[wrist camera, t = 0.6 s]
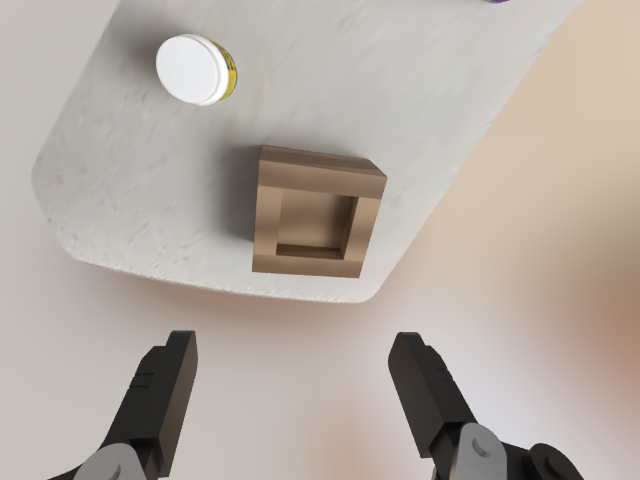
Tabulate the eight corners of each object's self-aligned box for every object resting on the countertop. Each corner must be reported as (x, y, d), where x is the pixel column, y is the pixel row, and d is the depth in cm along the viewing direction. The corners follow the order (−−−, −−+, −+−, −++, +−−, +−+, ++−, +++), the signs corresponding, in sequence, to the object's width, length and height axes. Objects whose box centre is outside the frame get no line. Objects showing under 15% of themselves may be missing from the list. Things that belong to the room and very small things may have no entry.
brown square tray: (262, 144, 31) (259, 160, 26) (368, 159, 33) (387, 177, 28) (255, 241, 37) (251, 272, 31) (347, 248, 39) (358, 278, 34)
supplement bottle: (247, 67, 27) (237, 65, 20) (221, 110, 29) (203, 124, 22) (199, 27, 25) (168, 9, 18) (174, 76, 27) (136, 78, 20)
